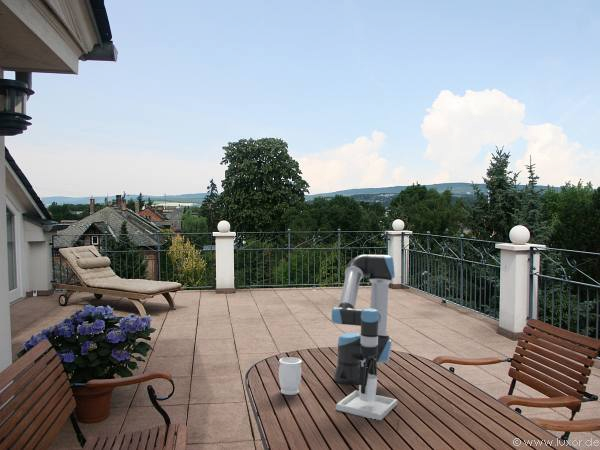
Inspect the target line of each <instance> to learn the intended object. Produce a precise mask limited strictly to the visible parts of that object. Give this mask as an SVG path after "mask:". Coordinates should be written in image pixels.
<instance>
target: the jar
mask: <svg viewBox="0 0 600 450" xmlns="http://www.w3.org/2000/svg"><path fill="white" fill-rule="evenodd" d="M278 363H279V368H278V380H279V386H280V388H281V389H280V393H281V394H283V395H286V396H294V395H297V394H299V388H300V385H301V380H302V365H301V364H302V359H301V358H298V357H294V356H293V357H290V356H289V357H282V358H280V359H279V360H278Z"/></svg>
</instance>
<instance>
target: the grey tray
mask: <svg viewBox="0 0 600 450" xmlns="http://www.w3.org/2000/svg"><path fill="white" fill-rule="evenodd" d="M396 405H397V406H398V399H396V398H392V397H388V396H383V395H378V394H376V395H375V401H372V402H365V401H362V400H360V393H359V390H357V389H355V390H354V391H352V392H351V393H349V394H348V395H347V396H345V397H344V398H343V399H341V400H340V401H338V402H337V403H336V404H335V410H336V411H338V412H339V411H340V412H343V413H347V414H352V415H355V416H358V417H362V418H367V419H370V418H372V419H371V420H374V419H376V420H375V421H378V420H380V421H379V422H381V421H383V420H384V418H385V417H386V416H387V415H389V414H390V413H391V412H392V411H393V410H394V409H393V408H394V407H395V406H396ZM397 406H396V407H397ZM396 407H395V408H396ZM392 409H393V410H392ZM391 410H392V411H391ZM390 411H391V412H390ZM389 412H390V413H389Z"/></svg>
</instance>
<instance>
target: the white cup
mask: <svg viewBox="0 0 600 450" xmlns="http://www.w3.org/2000/svg"><path fill="white" fill-rule="evenodd" d="M366 385H367V401H365V402H372V401H375V395H377V386H378V375H377V376H376V375H371V374H369V373H368V378H367V384H366ZM358 391H359V393H360V394H361V385H358Z"/></svg>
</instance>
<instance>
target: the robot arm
mask: <svg viewBox="0 0 600 450" xmlns="http://www.w3.org/2000/svg"><path fill="white" fill-rule="evenodd" d="M395 276H396V275H395V265H394V257H393V256H391V255H387V254H366V253H364V254H363V253H362V254H358V255H356V256H355V257H353V258H352V259H351V260H349V262H348V264H347V265H346V267H345V271H344V277H345V278H344V282H343V286H342V290H341V295H340V298H339V302H338V306H336V307H335V306H334V307H333V308H332V311H331V322H332V323H333V324H337V325H344V326H345V325H346V326H347V325H348V326H356V327H357V326H360V332H346V333H342V334H340V336H338V340H337V363H336V364H337V365H336V367H335V370H334V371H333V372H334V373H333V381H335V382H337V383H338V384H342V385H358V386H359V385H361V394H360V400H362V401H367V385H366V384H367V378H368V373H369V374H371V375H376V376H377V377H378V365H377V364H378V363H379V364H380V363H382V364H384V363H385V364H386V363H388V361H389V360H390V355H391V351H392V344H393V340H392V339H390V335H389V334H388V332H387V322H388V306H389V305H388V304H389V303H388V301H389V285H390V284H391V283H392V281H393V280H392V279H394V278H396V277H395ZM364 277H367V278H368V281H369V282H370V283H371V289H370V291H371V292H370V293H371V294H370V306H369V307H368V308H367V307H366V308H363V309H362V308H355V307H356V302H357V299H358V298H357V297H358V293H359V287H360V284H361V283H360V282H361V280H362V279H363V278H364Z"/></svg>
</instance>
